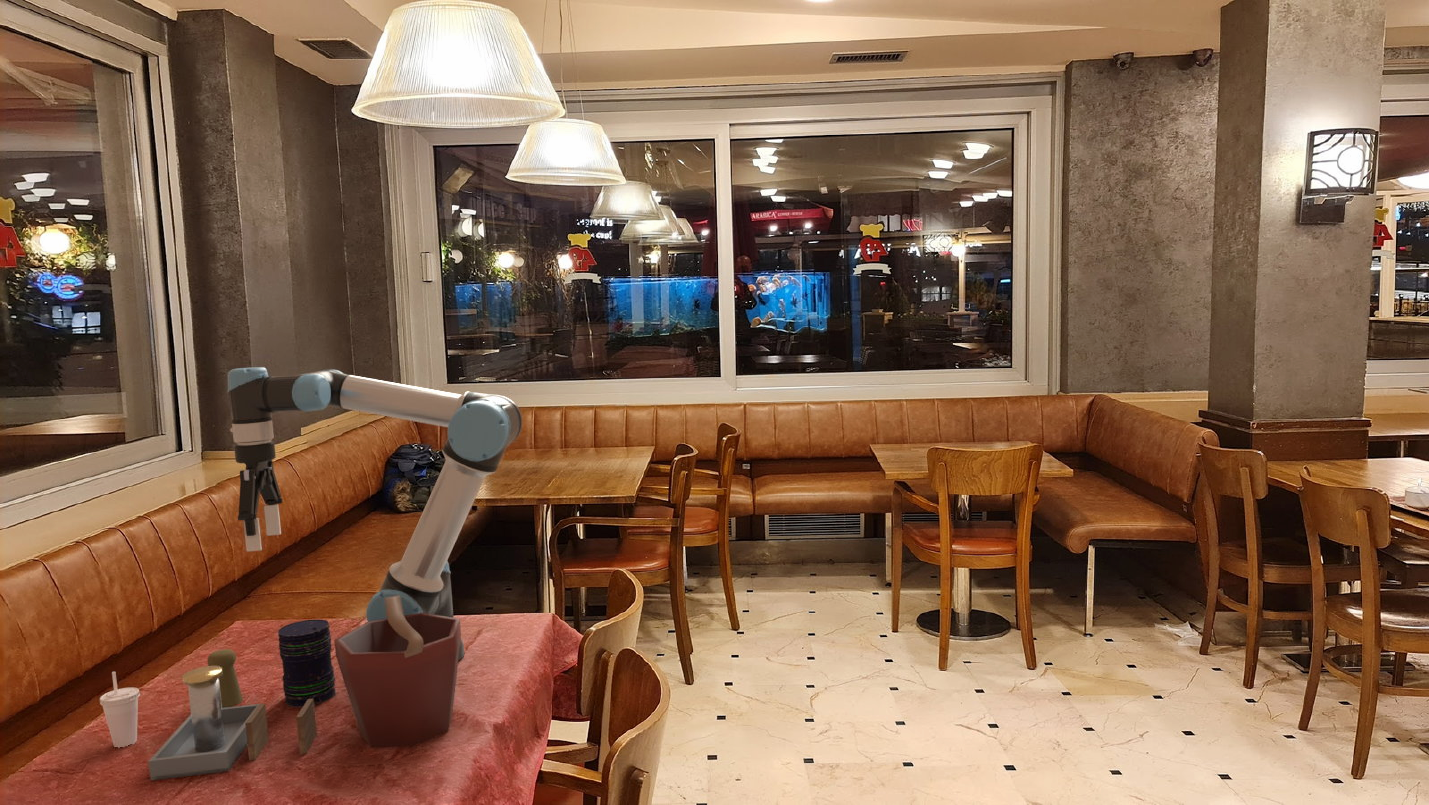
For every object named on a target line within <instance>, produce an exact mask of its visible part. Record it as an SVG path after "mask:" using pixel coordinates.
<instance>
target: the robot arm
mask: <svg viewBox="0 0 1429 805" xmlns="http://www.w3.org/2000/svg"><path fill="white" fill-rule="evenodd" d="M227 393H228V400H229V408H230V409H229V410H230V414H231V426H232V427H230V428H229V431H230V432H231V433H232V436H233V442H234V443H236V444H235V445H234V447H233V449H234V458H235V462H236V463H237V464H244V465H245V470H242V469H241V470H239V481H240V482H239V484H240V485H239V486H240V487H239V500H238V516H237V520H238V521H243V531H244V541H245V547H246V548H245V549H246V552H258V551H262V550H263V547H262V538H261V528H260V527H261V526H260V518H259V517H257V515H258V511H259V510H258V509H259V501H260V494H261V497H262V499H263V501H264V503H265V505H264V506H263V509H264V520H265V528H266V529H265V530H266V536H280V535H282V529H281V527H282V526H281V519H280V518H281V517H280V509H279V505H280V504H283V498H282V495H281V491H280V488H279V485H278V481H277V477H276V473H275V470H274V462H273V460H274V459H276V457H277V456H276V447H275V442H274V441H272V440H273V439H274V438H275V435H274V426H273V425H274V424H273V418H272V417H273V416H272V413H273V414H274V413H289V412H290V413H291V412H293V413H294V412H297V413H298V412H306V413H310V412H315V411H322V410H325V409H326V408H327V407H330V408H331V407H332V408H338V409H346V410H349V411H356V412H361V413H362V412H363V413H367V414H374V415H377V416H383V417H384V416H385V417H389V418H395V419H399V420H400V419H401V420H405V421H411V422H418V423H421V424H426V425H432V426H438V427H442V428H443V427H444V428H447V439H446V441H445V443H444V445H443V448H442V449H441V450H442V451H441V452H442V454H443V456H444V459H445V461H444V464H443V466H442V469H441V471H440V473H439V475H438V477H437V480H436V482H435V484H434V486H433V488H432V490H431V494H430V496H429V498H428V500H427V502H426V505H425V507H424V509H423V511H422V514H421V515H420V518H419V520H418V523H417V525H416V527H415V529H414V531H413V533H412V536H411V538H410V540H409V542H408V544H407V547H406V549H405V551H404V553H403V556H402V557H401V559H400V561H397V562H395V563H393V564H391V565H390V567H389V569H388V571H387V573H386V575H385V578H384V580H383V582H382V584H381V586H380V588H379V590H378V591H377V592H376V593H375V594H374V595H373V596H372V597H371V598H370V600H369V601H368V603H367V607H366V611H365V612H366V613H365V615H366V617H365V618H366V621H367V622H369V621H375V620H381V619H387V617H386V606H385V598H387V597H393V596H399V595H400V597H401V603H402V608H403V614H404V616H405V615H411V614H417V613H427V614H434V615H440V616H446V617H452V618H454V609H453V608H454V607H453V594H452V579H451V574H452V572H451V570H450V564H449V562H448V559H449V558H450V555H451V553H452V551H453V548H454V546H455V543H456V542H457V540H458V537H459V536H460V533H461V531H462V529H463V526H464V524H465V522H466V520H467V517H468V515H469V513H470V510H471V508H472V507H473V504H474V503H475V500H476V497H477V495H478V493H479V490H480V489H481V487H482V485H483V482H484V480H485V477H487V476H489V475H492V474H493V475H494V474H495V473H496V472H497V469H498V467H499V465H500V462H501V461H502V458H503V457H504V454H505V452H506V449H507V448H508V447H509V446H510V445H511V444H513V443H514V442H515V441H516V440H517V439H518V437H519V436H520V434H521V432H522V428H523V414H522V412H521V410H520V408H519V406H518V405H517V404H516V402H514V401H513V400H512V399H510V398H509V397H506V396H503V395H502V394H501V395H500V394H493V393H492V394H491V393H489V394H488V393H481V392H474V391H470V390H469V391H468V390H467V391H466V392H464V393H462V394H460V393H454V392H447V391H441V390H437V389H436V390H435V389H433V388H431V389H430V388H425V387H421V386H414V385H408V384H403V383H402V384H401V383H398V382H397V383H396V382H391V381H385V380H379V379H376V378H369V377H364V376H363V377H362V376H358V375H353V374H346V373H343V372H342V371H340V370H337V369H329V368H325V369H321V370H318V371H317V370H316V371H312V372H306V373H300V374H292V375H279V376H277V375H275V376H272V375H269V374H268V370H267V368H266V367H264V366H259V367H258V366H257V367H252V366H250V367H240V368H233V369H230V370H229V371H228V372H227ZM464 644H465V643H464V642H463V639H462V638H461V639H460V648H459V657H458V662H459V661H460V660H462V659H463V657H465V645H464Z"/></svg>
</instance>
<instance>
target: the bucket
mask: <svg viewBox="0 0 1429 805" xmlns="http://www.w3.org/2000/svg"><path fill="white" fill-rule="evenodd" d="M385 606H386V617H387V619H381V620H375V621H369V622H368V621H367V622H365V623H363V624H361V625H360V626H357V627H356V628H354V629H352V630H350V631H348V632H347V633H345V634H343V635H341V636H339V637H337V638H335V639H334V642H333V643H334V649H335V650H334V651H335V656H336V660H337V665H338V667H339V670H340V674H341V676H342V680H343V682H344V686H345V690H346V692H347V695H348V698H349V702H350V705H351V707H352V711H353V714H354V715H353V716H354V718H355V720H356V724H357V727H358V730H359V733H360V735H361V736H362V738H363V739H364V741H366V742H367V744H368V746H370V748H371V749H377V748H378V749H381V748H387V749H389V748H414V747H415V746H417V745H420V744H422V743H424V742H427V741H429V740H432V739H435V738H437V737H439V736H441V735H444V734H446V733H449V729H450V726H451V721H452V717H453V712H454V701H455V693H456V685H457V684H456V683H457V674H458V665H459V661H458V657H459V648H460V639H462V632H461V631H462V630H461V627H462V626H461V619H460V618H457V617H453V618H452V617H446V616H440V615H434V614H427V613H417V614H411V615H405V616H404V614H403V608H402V603H401V597H400V595H399V596H393V597H387V598H385Z"/></svg>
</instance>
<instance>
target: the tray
mask: <svg viewBox="0 0 1429 805" xmlns="http://www.w3.org/2000/svg"><path fill="white" fill-rule="evenodd" d="M259 704H260V703H255V704H248V705H247V704H245V705H238V706H237V705H235V706H232V707H227V708H222V712H223V721H224V730H225V739H226V743H225V745H224V746H222V747H221V748H218V749H216V750H213V751H209V752H197V751H196V750H195V743H194V735H193V726H192V717H191V714H190V715H189V716H188V717H186V719H185V720H184V722H182V723H181V724H180V726H179V727H177V729H176V730H175V731H174V732H173V733H172V735H170V737H169V738H168V739H167V740H166V741H165V742H164V743H163V744H162V746H160V748H159V749H157V751H156V752H155V753H154V755H152V757H150V759H149V760H148V761H147V762H148V768H149V776H150V777H149V778H150V781H157V780H167V779H175V778H183V777H191V776H199V775H200V776H201V775H209V774H216V773H224V772H229V771H231V769H232V767H233V766H234V764H235V763H236V762H237V761H238V759H239V757H240V756H241V755H240V754H242V753H243V752H244V751H245V749H246V748H247V747H248V745H247V735H246V725H245V723H246V721H247V720H248V719H249V717H250V716H251V715H252V713H253V712H254V711H255V709H256V708H257V707H258V705H259ZM245 747H246V748H245ZM235 761H236V762H235ZM234 762H235V763H234Z"/></svg>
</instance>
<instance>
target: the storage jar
mask: <svg viewBox="0 0 1429 805" xmlns="http://www.w3.org/2000/svg"><path fill="white" fill-rule="evenodd" d="M330 632H331V631H330V623H329V621H328V620H325V619H318V618H317V619H305V620H300V621H296V622H292V623H288V624H286V625H284V626H282V627H280V628H279V629H278V631H277V635H278V642H279V643H278V649H279V650H278V651H279V656H280V659H281V661H282V671H283V672H282V673H283V675H282V683H283V685H282V688H283V689H282V690H283V693H284V696H285V697H284V701H285V702H284V703H285V705H286V704H287V706H288V705H289V706H288V707H292V708H303V706H304V705H305V703H306V701H307V700H308V699H314V706H316V705H319V703H320V704H323V703H325V702H327V701H329V700H331V699H332V698H334V696H335V695H336V694H337V692H336V688H335V686H336V683H335V681H336V676H335V668H334V666H333V665H332V664H333V663H332V655H331V650H332V647H333V646H332V635H331V633H330ZM322 702H323V703H322Z"/></svg>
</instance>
